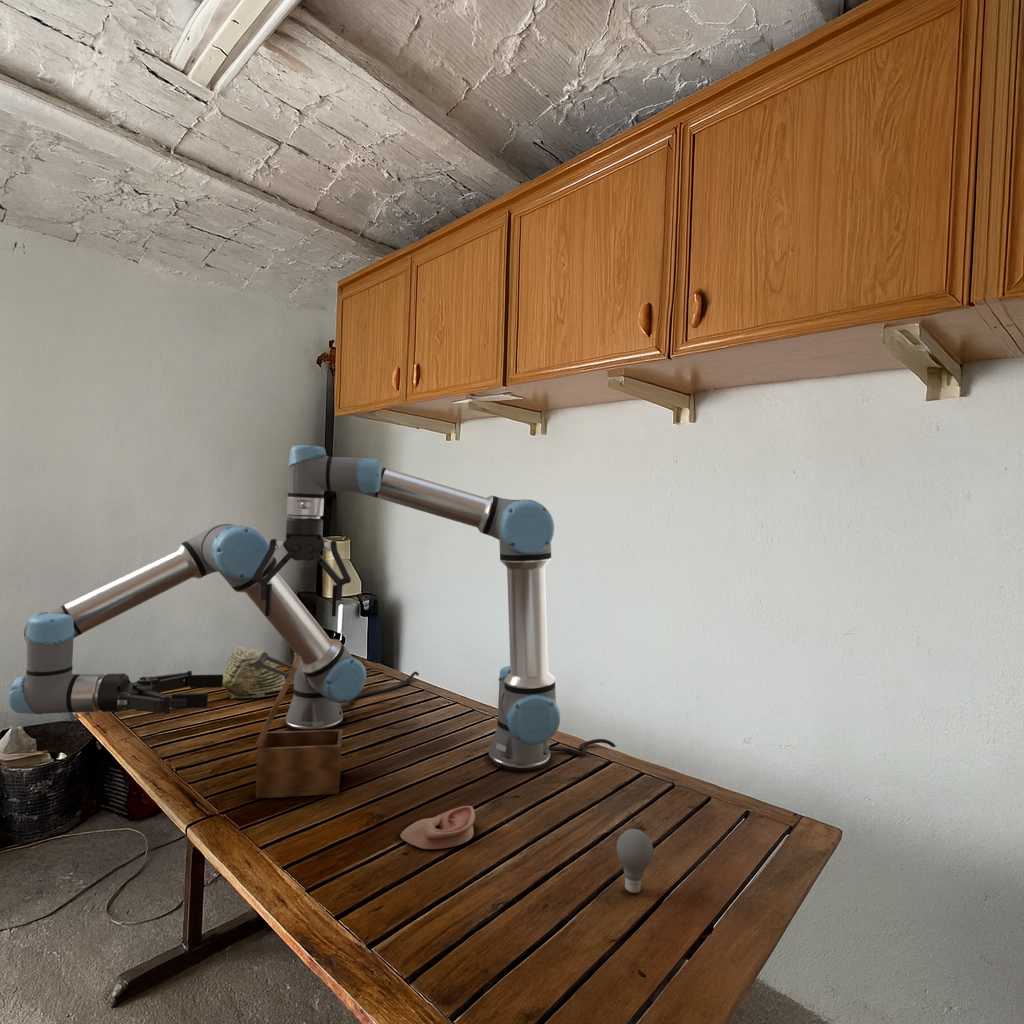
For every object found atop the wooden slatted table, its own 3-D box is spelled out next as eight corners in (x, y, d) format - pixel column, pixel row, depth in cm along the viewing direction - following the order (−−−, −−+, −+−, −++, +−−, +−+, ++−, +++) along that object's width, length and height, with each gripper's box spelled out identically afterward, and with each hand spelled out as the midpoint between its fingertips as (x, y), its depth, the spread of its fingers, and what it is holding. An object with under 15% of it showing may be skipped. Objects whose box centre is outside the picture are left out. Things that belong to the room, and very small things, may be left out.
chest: (340, 774, 145) (342, 729, 145) (338, 794, 135) (340, 745, 135) (263, 778, 141) (264, 732, 141) (255, 798, 132) (257, 749, 131)
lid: (302, 656, 142) (265, 642, 141) (297, 668, 133) (258, 653, 131) (267, 730, 141) (230, 716, 139) (259, 747, 132) (219, 733, 130)
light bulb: (610, 879, 108) (613, 822, 108) (644, 879, 109) (647, 822, 109) (619, 902, 102) (622, 840, 102) (655, 901, 103) (658, 840, 103)
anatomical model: (394, 823, 116) (416, 795, 127) (393, 844, 116) (415, 814, 128) (464, 834, 114) (480, 804, 125) (463, 855, 114) (479, 824, 125)
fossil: (218, 695, 195) (220, 647, 195) (278, 685, 208) (279, 640, 207) (228, 703, 189) (230, 653, 188) (289, 692, 201) (290, 645, 201)
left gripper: (125, 692, 141) (227, 690, 146) (74, 733, 117) (199, 729, 122) (126, 658, 141) (228, 657, 146) (76, 693, 117) (200, 690, 122)
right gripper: (239, 515, 131) (236, 618, 131) (364, 520, 136) (360, 618, 136) (246, 514, 138) (243, 611, 138) (364, 518, 143) (360, 612, 144)
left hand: (215, 690), depth 134 cm, fingers open, 13 cm apart
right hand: (301, 615), depth 137 cm, fingers open, 13 cm apart
